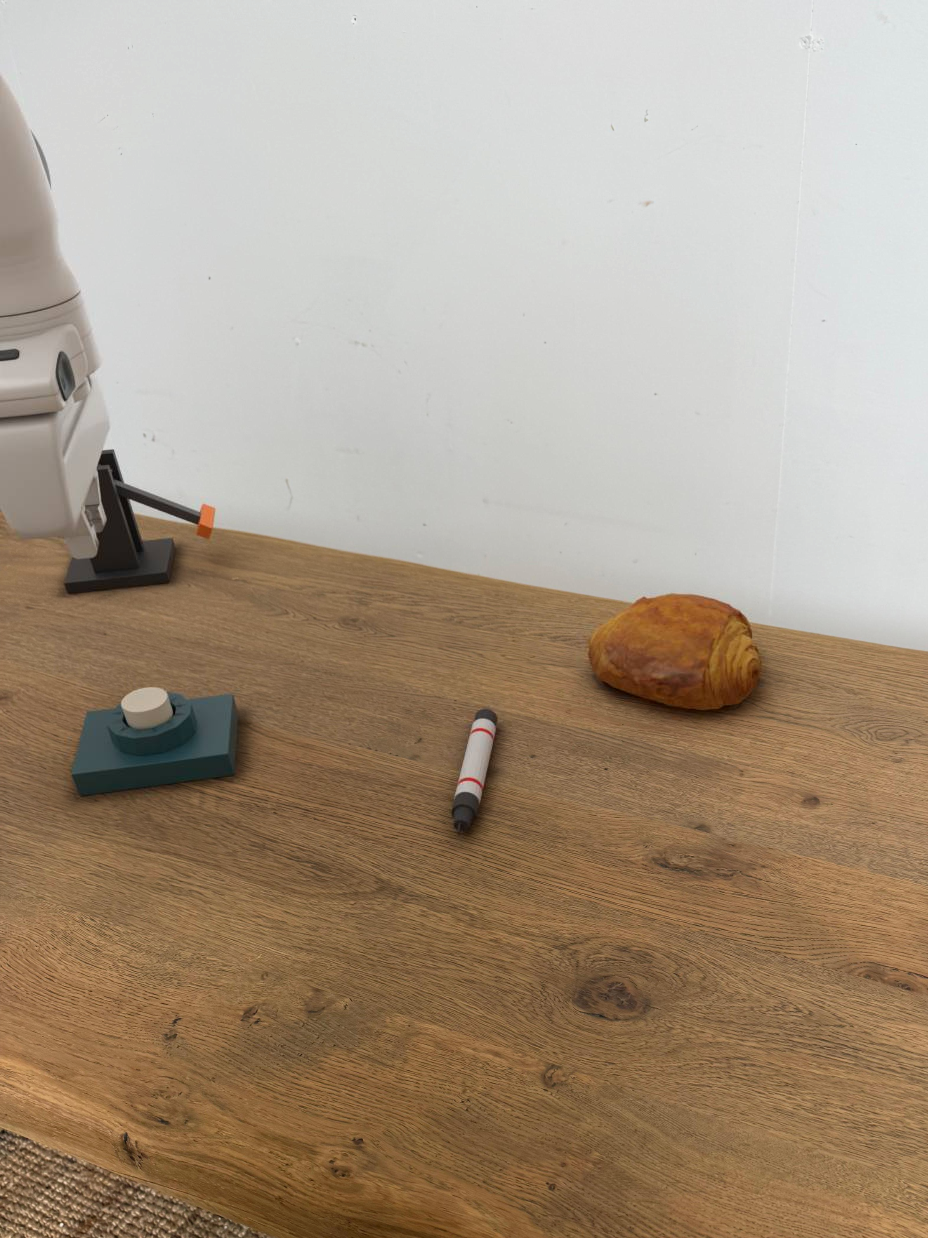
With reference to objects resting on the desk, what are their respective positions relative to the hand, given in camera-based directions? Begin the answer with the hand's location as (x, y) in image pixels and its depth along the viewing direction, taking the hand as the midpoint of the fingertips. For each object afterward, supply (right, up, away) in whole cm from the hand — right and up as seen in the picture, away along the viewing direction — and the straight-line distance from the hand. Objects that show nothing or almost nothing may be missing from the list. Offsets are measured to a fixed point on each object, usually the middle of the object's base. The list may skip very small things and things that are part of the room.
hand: (90, 541), depth 86 cm
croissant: (+44, -7, +21) cm, 49 cm away
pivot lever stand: (-14, +7, +38) cm, 40 cm away
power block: (0, -15, +12) cm, 19 cm away
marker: (+27, -17, +9) cm, 33 cm away
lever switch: (-10, +12, +34) cm, 37 cm away
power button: (0, -12, +10) cm, 16 cm away
